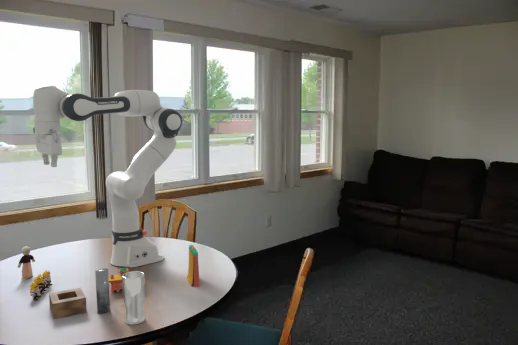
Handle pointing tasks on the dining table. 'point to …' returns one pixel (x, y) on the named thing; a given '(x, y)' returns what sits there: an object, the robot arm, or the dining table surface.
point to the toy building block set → (192, 276)
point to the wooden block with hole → (67, 303)
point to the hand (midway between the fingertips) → (50, 165)
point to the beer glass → (134, 296)
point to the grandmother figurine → (26, 263)
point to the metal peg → (102, 290)
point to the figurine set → (40, 285)
